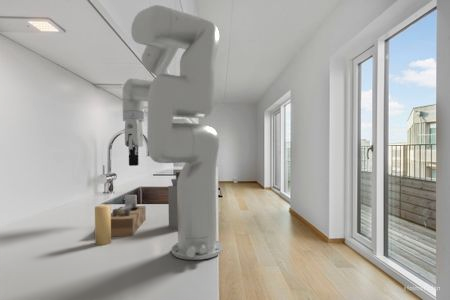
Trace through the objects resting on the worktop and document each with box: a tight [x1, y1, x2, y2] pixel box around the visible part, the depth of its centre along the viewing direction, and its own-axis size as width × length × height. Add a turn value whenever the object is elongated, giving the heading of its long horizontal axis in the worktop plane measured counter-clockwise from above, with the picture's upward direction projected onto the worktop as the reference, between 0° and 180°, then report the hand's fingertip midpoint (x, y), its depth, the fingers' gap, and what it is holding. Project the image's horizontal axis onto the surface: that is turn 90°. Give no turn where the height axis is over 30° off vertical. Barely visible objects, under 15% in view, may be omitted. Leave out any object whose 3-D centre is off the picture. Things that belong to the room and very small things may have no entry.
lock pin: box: [120, 194, 138, 214], centre depth 95 cm, size 12×4×4 cm, turn 5°
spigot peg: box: [94, 204, 112, 246], centre depth 77 cm, size 4×4×10 cm
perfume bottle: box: [167, 171, 181, 229], centre depth 94 cm, size 7×7×18 cm
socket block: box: [111, 205, 147, 237], centre depth 93 cm, size 20×9×7 cm, turn 5°
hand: (133, 165), depth 106 cm, fingers closed
